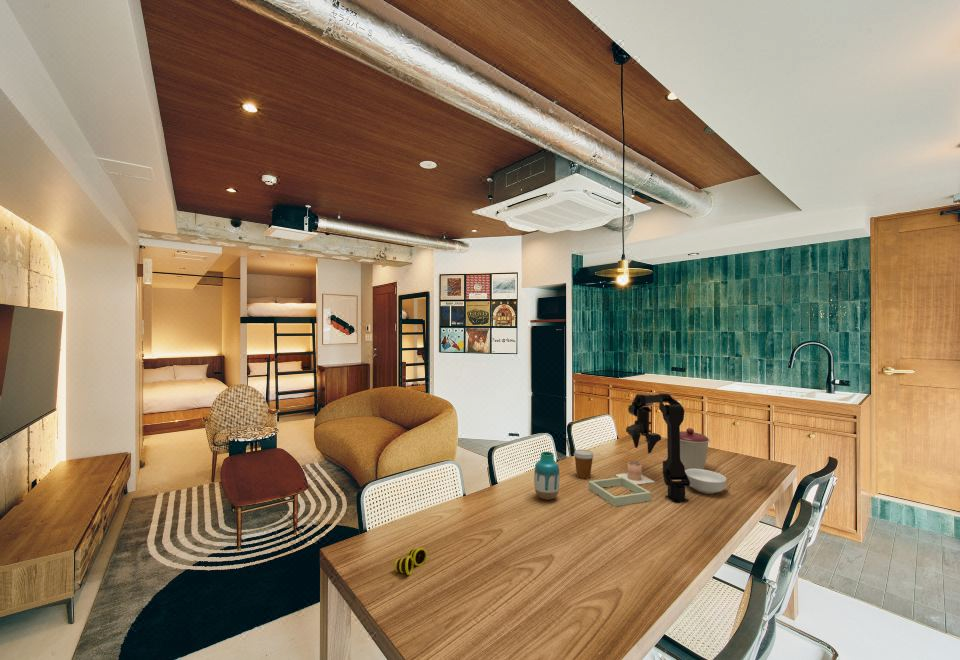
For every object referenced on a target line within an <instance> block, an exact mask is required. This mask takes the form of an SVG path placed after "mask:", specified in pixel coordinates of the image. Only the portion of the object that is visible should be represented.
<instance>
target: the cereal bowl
mask: <svg viewBox="0 0 960 660" xmlns="http://www.w3.org/2000/svg"><path fill="white" fill-rule="evenodd" d="M685 472H686V474H687V477H688V479H689V481H690V485H689V487H692V488H693V489H694V490H695V491H697V492H699V493H702V494H708V495H711V494H714V493H720V492H722V491H723V490H725V488H726V487H727V481H728V480H727V478H726V476H725V475H723V474H722V473H718V472H717V471H711V470H708V469H705V468H704V469H687V470H685Z"/></svg>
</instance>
